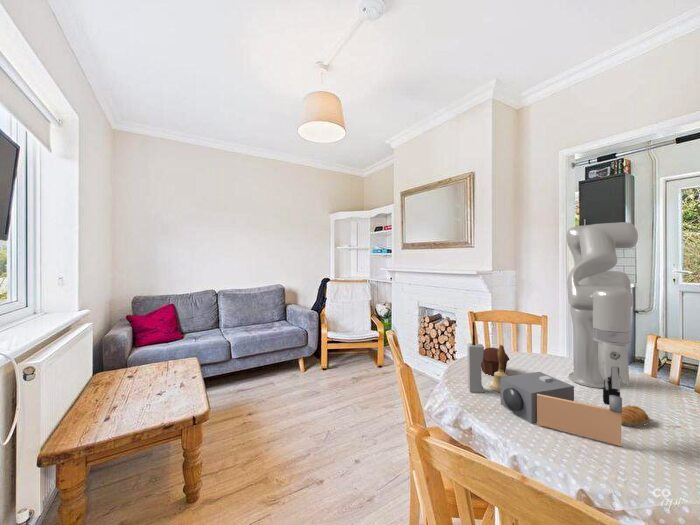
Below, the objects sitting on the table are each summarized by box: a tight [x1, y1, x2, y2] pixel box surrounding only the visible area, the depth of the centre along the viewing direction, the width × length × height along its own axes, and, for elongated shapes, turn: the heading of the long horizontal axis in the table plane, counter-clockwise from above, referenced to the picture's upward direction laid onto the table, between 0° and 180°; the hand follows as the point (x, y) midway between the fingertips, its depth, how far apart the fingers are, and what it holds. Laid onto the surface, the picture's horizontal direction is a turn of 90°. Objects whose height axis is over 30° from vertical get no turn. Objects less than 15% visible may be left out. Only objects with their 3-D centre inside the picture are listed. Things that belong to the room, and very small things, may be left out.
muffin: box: [481, 347, 510, 377], centre depth 124 cm, size 12×11×10 cm
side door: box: [536, 394, 623, 447], centre depth 80 cm, size 18×2×12 cm, turn 55°
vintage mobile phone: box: [466, 321, 485, 394], centre depth 108 cm, size 4×5×25 cm
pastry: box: [621, 404, 651, 427], centre depth 86 cm, size 9×7×4 cm
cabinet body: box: [500, 371, 575, 425], centre depth 94 cm, size 18×12×10 cm
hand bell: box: [488, 344, 509, 393], centre depth 109 cm, size 8×8×16 cm
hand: (611, 404), depth 79 cm, fingers closed
